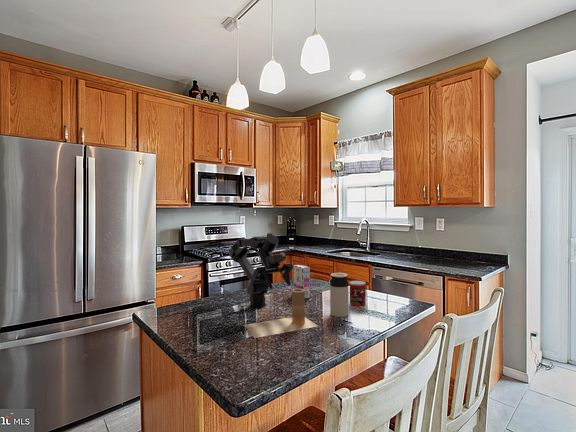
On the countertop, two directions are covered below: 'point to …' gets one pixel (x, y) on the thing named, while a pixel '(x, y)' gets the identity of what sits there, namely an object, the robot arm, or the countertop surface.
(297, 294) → the sleeve
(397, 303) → the countertop surface
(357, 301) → the canned food
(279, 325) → the pin board
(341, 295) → the travel mug
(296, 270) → the candy bar box
